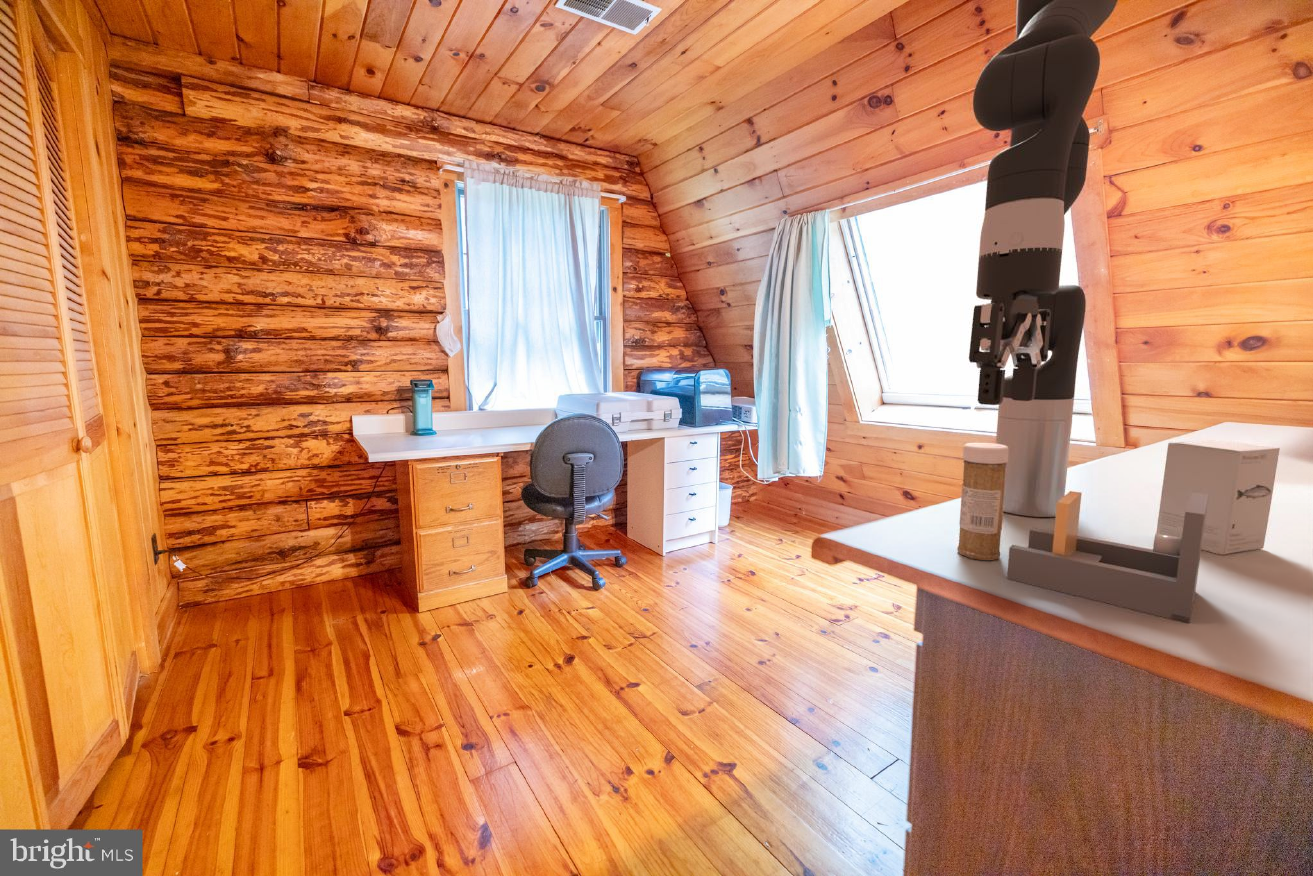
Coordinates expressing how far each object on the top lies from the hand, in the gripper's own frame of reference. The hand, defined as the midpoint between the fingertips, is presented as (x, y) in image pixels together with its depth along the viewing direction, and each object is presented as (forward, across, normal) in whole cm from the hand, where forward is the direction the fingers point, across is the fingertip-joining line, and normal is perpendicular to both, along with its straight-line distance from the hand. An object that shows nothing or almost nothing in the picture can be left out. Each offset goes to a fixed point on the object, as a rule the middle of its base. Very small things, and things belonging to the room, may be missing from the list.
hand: (1006, 402), depth 62 cm
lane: (+18, -2, +9) cm, 21 cm away
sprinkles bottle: (+19, -1, -2) cm, 19 cm away
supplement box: (+18, -27, +14) cm, 36 cm away
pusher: (+18, -1, +8) cm, 19 cm away
